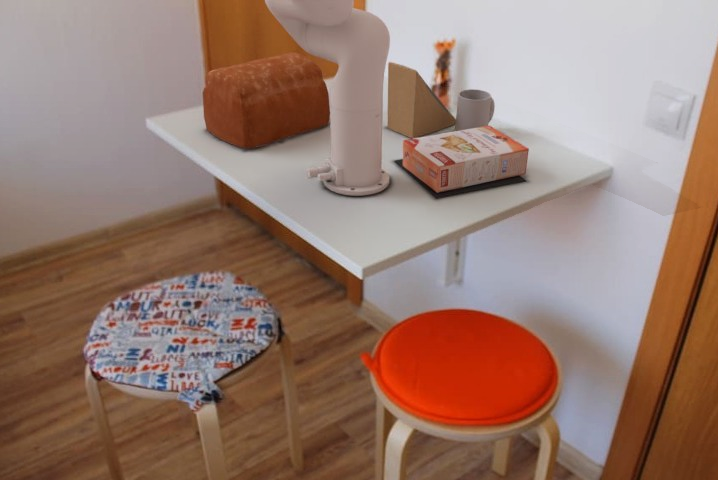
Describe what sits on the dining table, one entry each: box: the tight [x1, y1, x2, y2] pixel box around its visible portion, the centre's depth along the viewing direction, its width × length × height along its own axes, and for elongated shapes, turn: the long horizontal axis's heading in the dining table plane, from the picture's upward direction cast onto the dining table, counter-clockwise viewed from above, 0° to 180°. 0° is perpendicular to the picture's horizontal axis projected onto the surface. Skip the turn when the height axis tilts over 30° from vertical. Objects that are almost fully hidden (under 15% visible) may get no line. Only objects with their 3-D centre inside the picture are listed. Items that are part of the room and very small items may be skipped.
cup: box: [454, 88, 495, 131], centre depth 160 cm, size 7×10×9 cm
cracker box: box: [402, 125, 530, 193], centre depth 142 cm, size 14×6×21 cm
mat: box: [394, 158, 527, 199], centre depth 144 cm, size 20×18×1 cm
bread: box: [202, 51, 330, 149], centre depth 156 cm, size 17×24×15 cm
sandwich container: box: [387, 61, 456, 139], centre depth 161 cm, size 9×15×15 cm, turn 135°
